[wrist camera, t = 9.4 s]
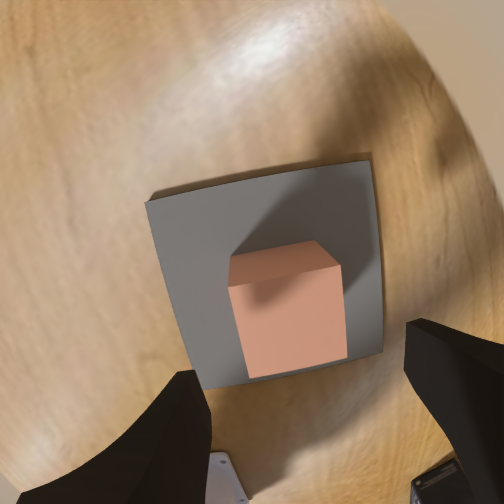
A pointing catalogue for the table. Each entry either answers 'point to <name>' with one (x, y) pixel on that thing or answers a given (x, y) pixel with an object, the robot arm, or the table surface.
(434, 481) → the small box
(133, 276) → the table surface
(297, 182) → the mat
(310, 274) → the cube
